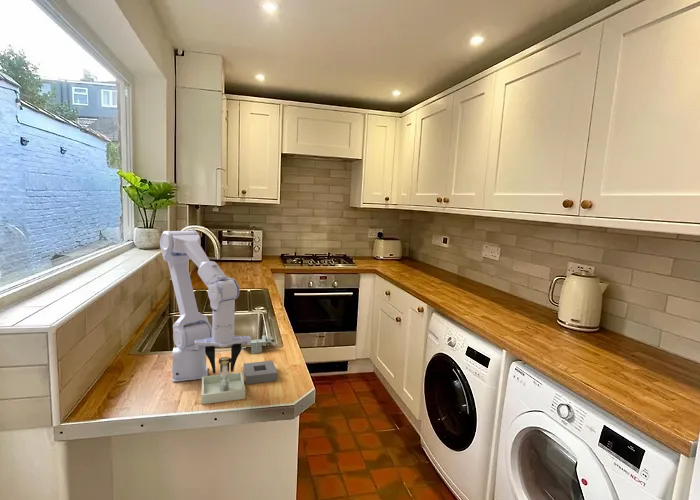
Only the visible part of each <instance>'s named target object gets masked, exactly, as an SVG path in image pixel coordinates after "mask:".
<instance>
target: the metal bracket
mask: <svg viewBox="0 0 700 500" xmlns="http://www.w3.org/2000/svg"><path fill="white" fill-rule="evenodd" d="M273 340H274V338H271V337H270V338H268V336H266V335H265V334H264V335H262V336H261V338H260V339H259V338H258V339H251V347H250V349H251V352H250V353H251V354H261V353H263V352H262V351H263V347H262V346H263V345H262V343H273Z"/></svg>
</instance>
